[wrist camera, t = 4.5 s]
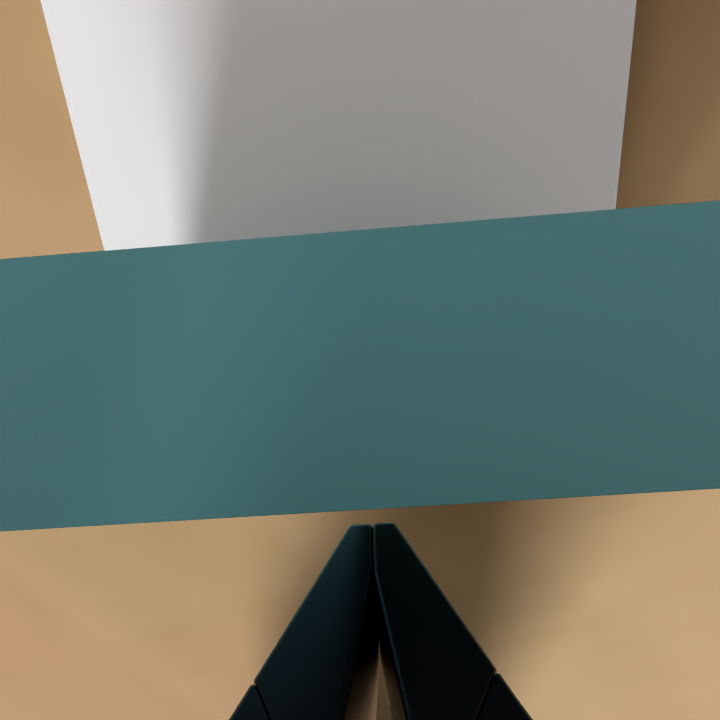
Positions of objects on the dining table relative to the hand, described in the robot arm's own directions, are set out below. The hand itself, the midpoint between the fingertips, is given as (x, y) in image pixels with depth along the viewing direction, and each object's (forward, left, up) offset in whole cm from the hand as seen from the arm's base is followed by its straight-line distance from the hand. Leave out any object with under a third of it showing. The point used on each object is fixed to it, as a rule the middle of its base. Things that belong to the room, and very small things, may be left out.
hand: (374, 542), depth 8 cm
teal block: (0, 0, -6) cm, 6 cm away
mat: (+7, 0, -7) cm, 10 cm away
